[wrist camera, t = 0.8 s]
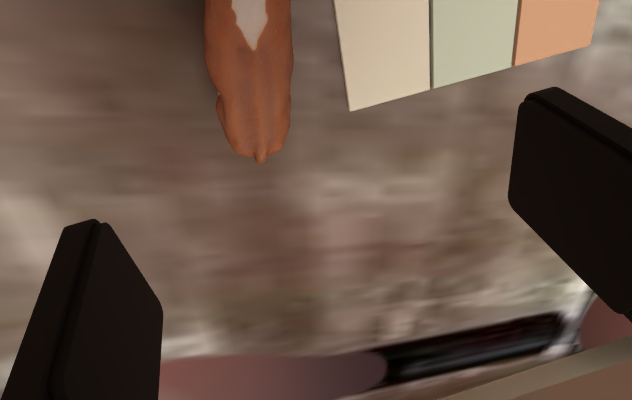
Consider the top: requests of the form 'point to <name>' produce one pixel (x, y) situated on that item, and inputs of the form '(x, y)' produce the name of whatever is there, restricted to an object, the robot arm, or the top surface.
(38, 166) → the top surface
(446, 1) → the game board
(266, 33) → the bull figurine
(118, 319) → the robot arm
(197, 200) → the top surface
